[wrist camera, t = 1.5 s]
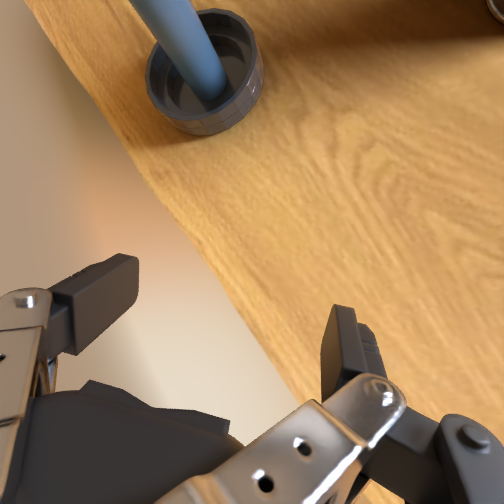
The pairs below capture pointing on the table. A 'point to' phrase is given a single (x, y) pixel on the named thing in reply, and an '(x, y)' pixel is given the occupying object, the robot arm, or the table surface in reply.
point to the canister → (185, 44)
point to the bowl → (235, 65)
